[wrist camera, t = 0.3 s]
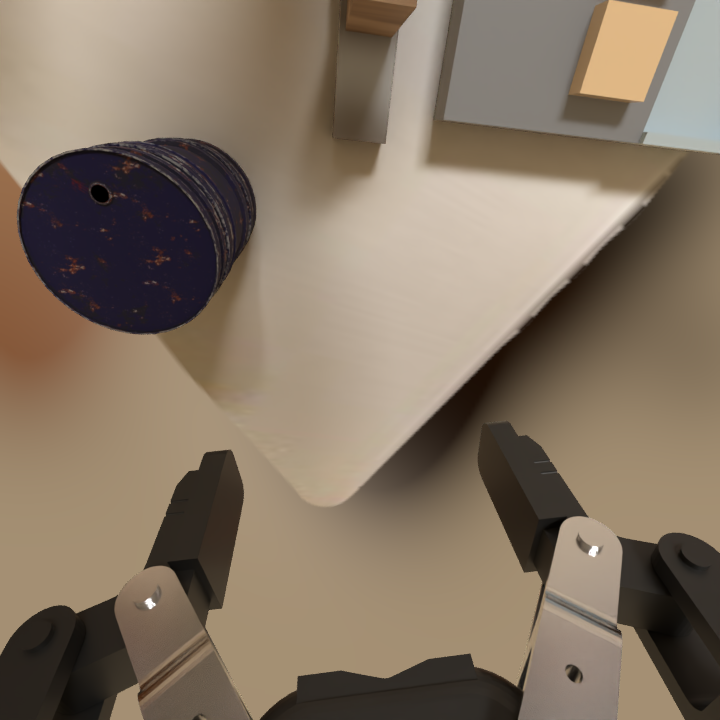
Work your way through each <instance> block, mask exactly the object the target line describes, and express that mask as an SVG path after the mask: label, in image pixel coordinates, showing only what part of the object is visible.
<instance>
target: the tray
mask: <svg viewBox="0 0 720 720" xmlns="http://www.w3.org/2000/svg"><path fill="white" fill-rule="evenodd" d="M618 143H621V142H618ZM626 144H634V145H642V146H650V147H659V148H667V149H675V150H683V151H691V152H700V153H708V154H716V155H720V0H696V1H695V3H694V6H693V8H692V11H691V13H690V16H689V18H688V21H687V23H686V26H685V28H684V31H683V33H682V36H681V38H680V41H679V43H678V46H677V48H676V51H675V53H674V56H673V58H672V61H671V63H670V66H669V68H668V71H667V73H666V76H665V78H664V81H663V83H662V86H661V88H660V91H659V93H658V96H657V98H656V101H655V103H654V106H653V108H652V111H651V113H650V116H649V118H648V121H647V123H646V126H645V128H644V131H643V133H642V136H641V138H640V141H639V143H626Z"/></svg>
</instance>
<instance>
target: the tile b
mask: <svg viewBox="0 0 720 720" xmlns="http://www.w3.org/2000/svg"><path fill="white" fill-rule="evenodd" d="M677 14H678V11H673V10H667V9H661V8H655V7H649V6H644V5H638V4H632V3H626V2H620V1H614V0H607V1H605V2H603V3H600V4H598V5H596V6H595V8H594V12H593V15H592V18H591V21H590V25H589V28H588V31H587V35H586V38H585V41H584V44H583V48H582V51H581V54H580V58H579V61H578V64H577V67H576V71H575V74H574V77H573V81H572V84H571V87H570V90H569V94H568V95H575V96H583V97H590V98H597V99H605V100H612V101H619V102H627V103H635V102H644V100H645V97H646V94H647V92H648V89H649V87H650V84H651V82H652V79H653V76H654V74H655V71H656V69H657V66H658V64H659V61H660V58H661V56H662V53H663V51H664V48H665V45H666V43H667V40H668V38H669V35H670V33H671V30H672V27H673V25H674V22H675V20H676V17H677Z"/></svg>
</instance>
